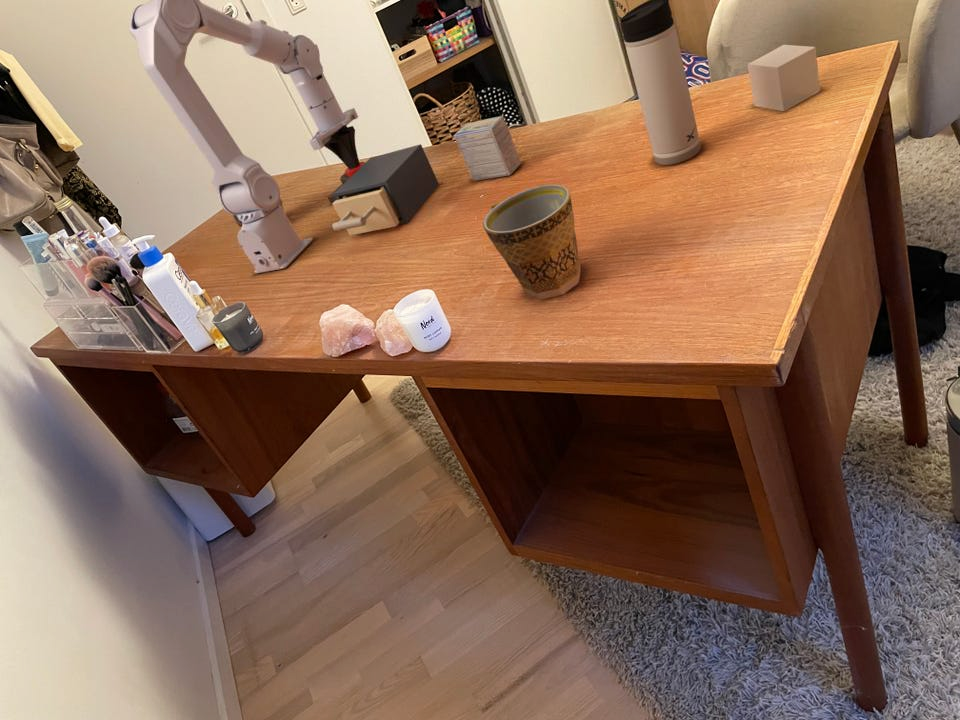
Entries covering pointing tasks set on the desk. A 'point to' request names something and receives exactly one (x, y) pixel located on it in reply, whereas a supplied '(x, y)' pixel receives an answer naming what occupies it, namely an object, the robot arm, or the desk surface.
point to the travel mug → (661, 81)
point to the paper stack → (488, 148)
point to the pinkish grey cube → (784, 77)
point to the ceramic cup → (537, 239)
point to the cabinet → (396, 179)
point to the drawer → (366, 211)
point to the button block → (343, 180)
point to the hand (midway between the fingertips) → (354, 167)
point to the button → (351, 171)
